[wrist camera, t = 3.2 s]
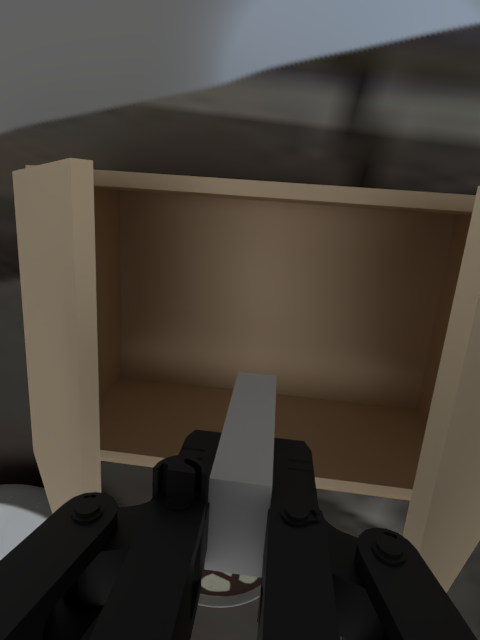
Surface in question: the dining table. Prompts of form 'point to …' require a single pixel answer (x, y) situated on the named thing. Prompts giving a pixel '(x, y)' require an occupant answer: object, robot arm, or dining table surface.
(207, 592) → the food container
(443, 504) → the flap
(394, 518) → the dining table surface
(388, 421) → the carton
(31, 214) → the flap
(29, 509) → the serving bowl
